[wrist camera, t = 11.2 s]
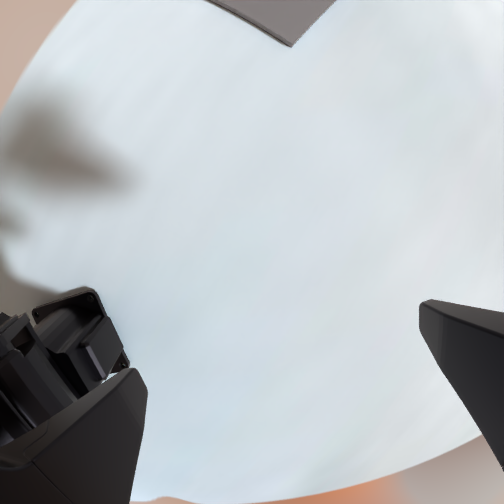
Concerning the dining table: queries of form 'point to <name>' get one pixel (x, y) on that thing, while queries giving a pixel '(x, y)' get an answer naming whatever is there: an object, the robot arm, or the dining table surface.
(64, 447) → the robot arm
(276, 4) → the board
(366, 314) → the dining table surface
